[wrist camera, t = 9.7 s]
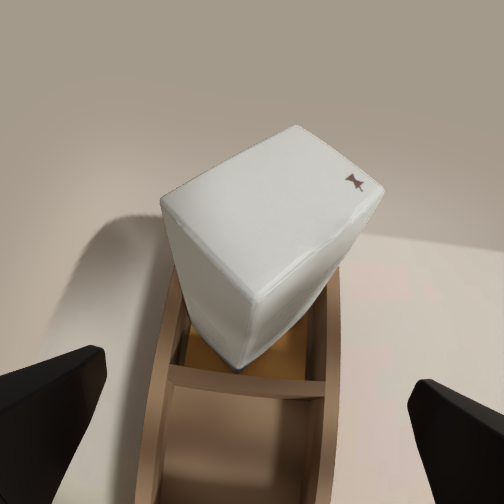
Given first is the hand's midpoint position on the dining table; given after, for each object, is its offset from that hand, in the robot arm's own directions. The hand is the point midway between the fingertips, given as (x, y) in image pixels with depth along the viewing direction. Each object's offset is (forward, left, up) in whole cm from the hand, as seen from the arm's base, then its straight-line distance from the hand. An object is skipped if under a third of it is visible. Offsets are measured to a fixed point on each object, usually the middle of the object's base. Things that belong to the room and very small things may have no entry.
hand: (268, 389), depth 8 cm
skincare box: (+4, +4, -10) cm, 12 cm away
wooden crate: (-2, -2, -11) cm, 12 cm away
